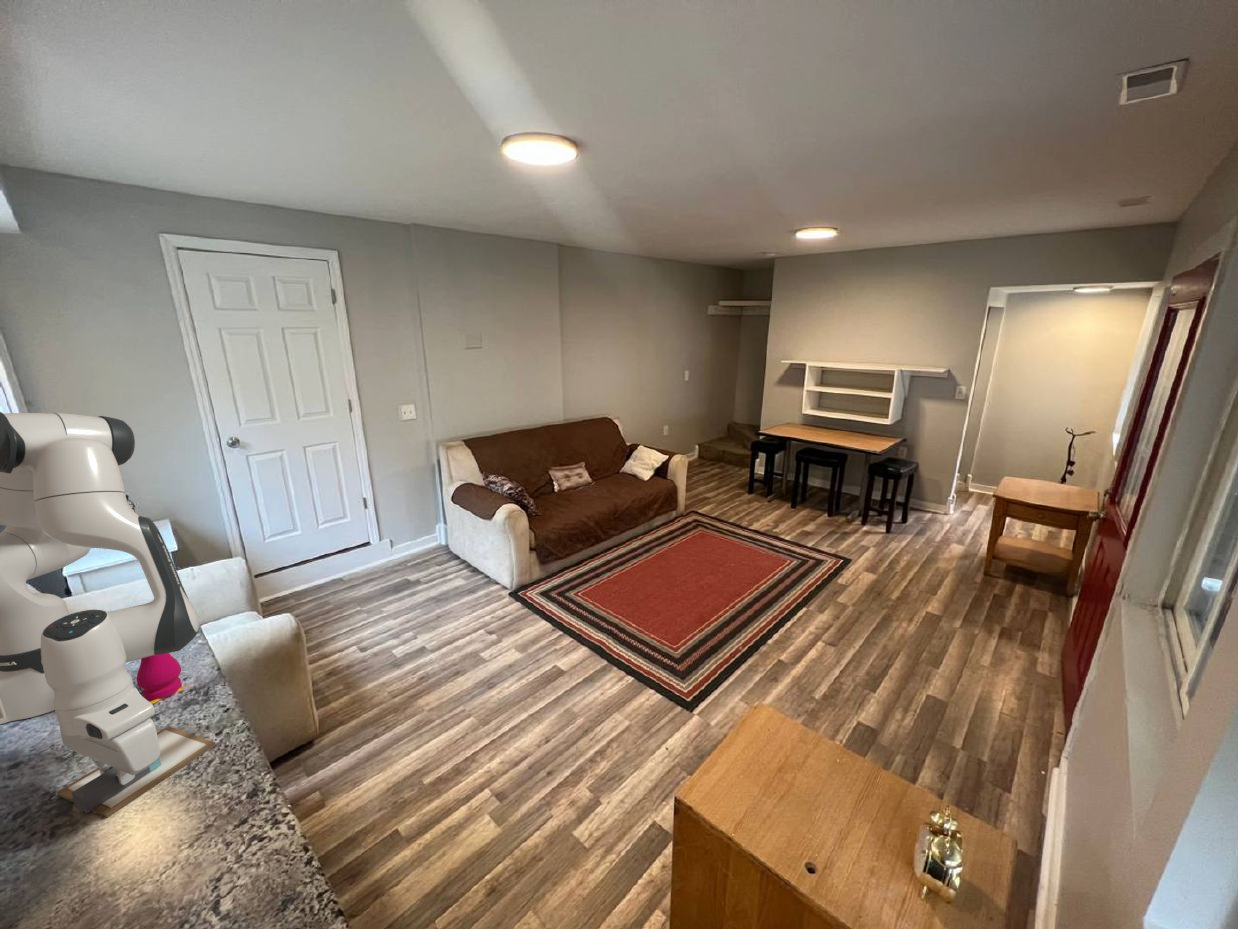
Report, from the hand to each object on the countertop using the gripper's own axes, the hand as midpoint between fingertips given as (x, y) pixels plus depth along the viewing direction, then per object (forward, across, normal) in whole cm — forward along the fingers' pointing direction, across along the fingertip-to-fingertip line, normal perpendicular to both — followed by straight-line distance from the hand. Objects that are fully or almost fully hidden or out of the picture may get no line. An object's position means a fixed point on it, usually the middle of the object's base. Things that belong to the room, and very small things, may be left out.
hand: (118, 777), depth 82 cm
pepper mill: (+3, -24, +19) cm, 31 cm away
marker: (+2, 0, 0) cm, 2 cm away
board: (+3, -2, +4) cm, 5 cm away
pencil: (+3, -23, +13) cm, 27 cm away
